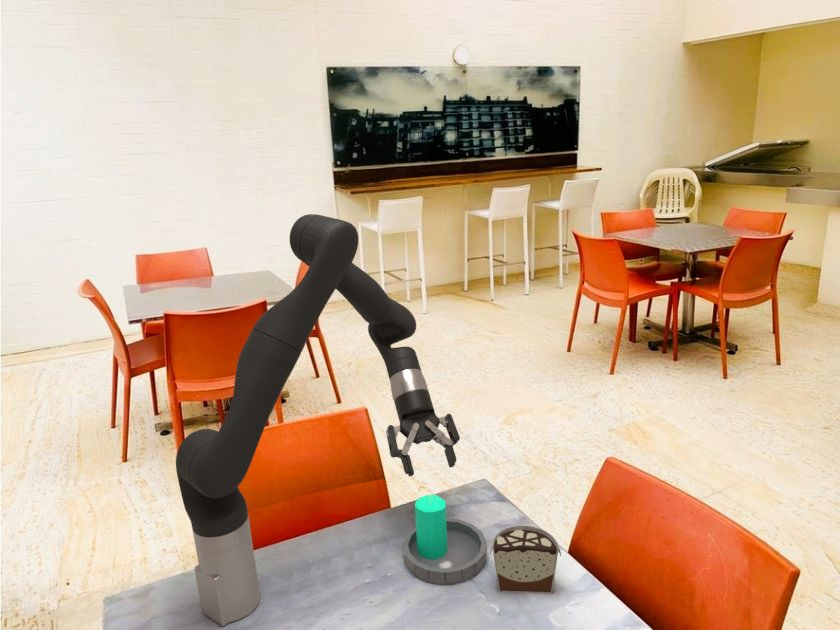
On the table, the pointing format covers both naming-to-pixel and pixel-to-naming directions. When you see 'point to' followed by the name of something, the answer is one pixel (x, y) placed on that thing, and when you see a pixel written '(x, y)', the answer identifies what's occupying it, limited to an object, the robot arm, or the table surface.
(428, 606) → the table surface
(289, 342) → the robot arm
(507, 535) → the food container
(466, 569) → the plate
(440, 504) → the candle
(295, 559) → the table surface
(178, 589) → the table surface
